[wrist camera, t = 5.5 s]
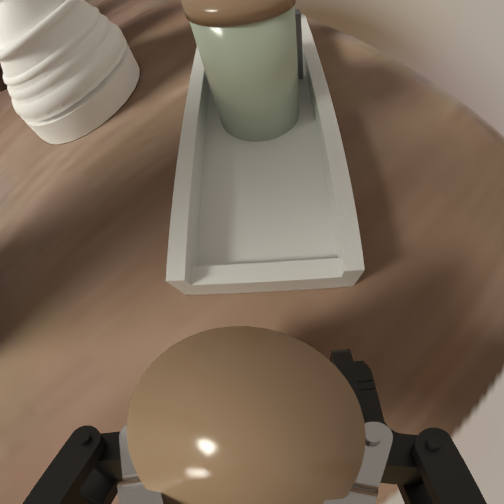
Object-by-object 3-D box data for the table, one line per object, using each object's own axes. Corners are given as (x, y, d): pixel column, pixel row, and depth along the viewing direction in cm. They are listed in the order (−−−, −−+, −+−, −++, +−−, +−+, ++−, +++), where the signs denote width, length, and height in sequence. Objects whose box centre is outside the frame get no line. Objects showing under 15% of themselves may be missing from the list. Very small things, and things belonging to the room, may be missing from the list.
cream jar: (203, 428, 15) (105, 484, 6) (237, 333, 17) (168, 294, 8) (303, 461, 14) (310, 562, 5) (339, 365, 16) (397, 364, 6)
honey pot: (86, 155, 24) (-37, 8, 7) (21, 134, 27) (-70, 37, 9) (163, 58, 27) (106, -87, 10) (86, 55, 30) (27, -48, 12)
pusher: (303, 78, 21) (300, 13, 16) (212, 87, 22) (193, 26, 17) (296, 47, 23) (292, -10, 17) (216, 55, 24) (200, 0, 18)
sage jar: (206, 135, 21) (159, 13, 11) (236, 83, 22) (209, -27, 13) (288, 150, 19) (277, 10, 10) (308, 93, 21) (305, -27, 12)
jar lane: (353, 286, 17) (386, 236, 10) (186, 294, 18) (127, 253, 12) (305, 40, 25) (302, -21, 19) (208, 50, 27) (191, -8, 20)
